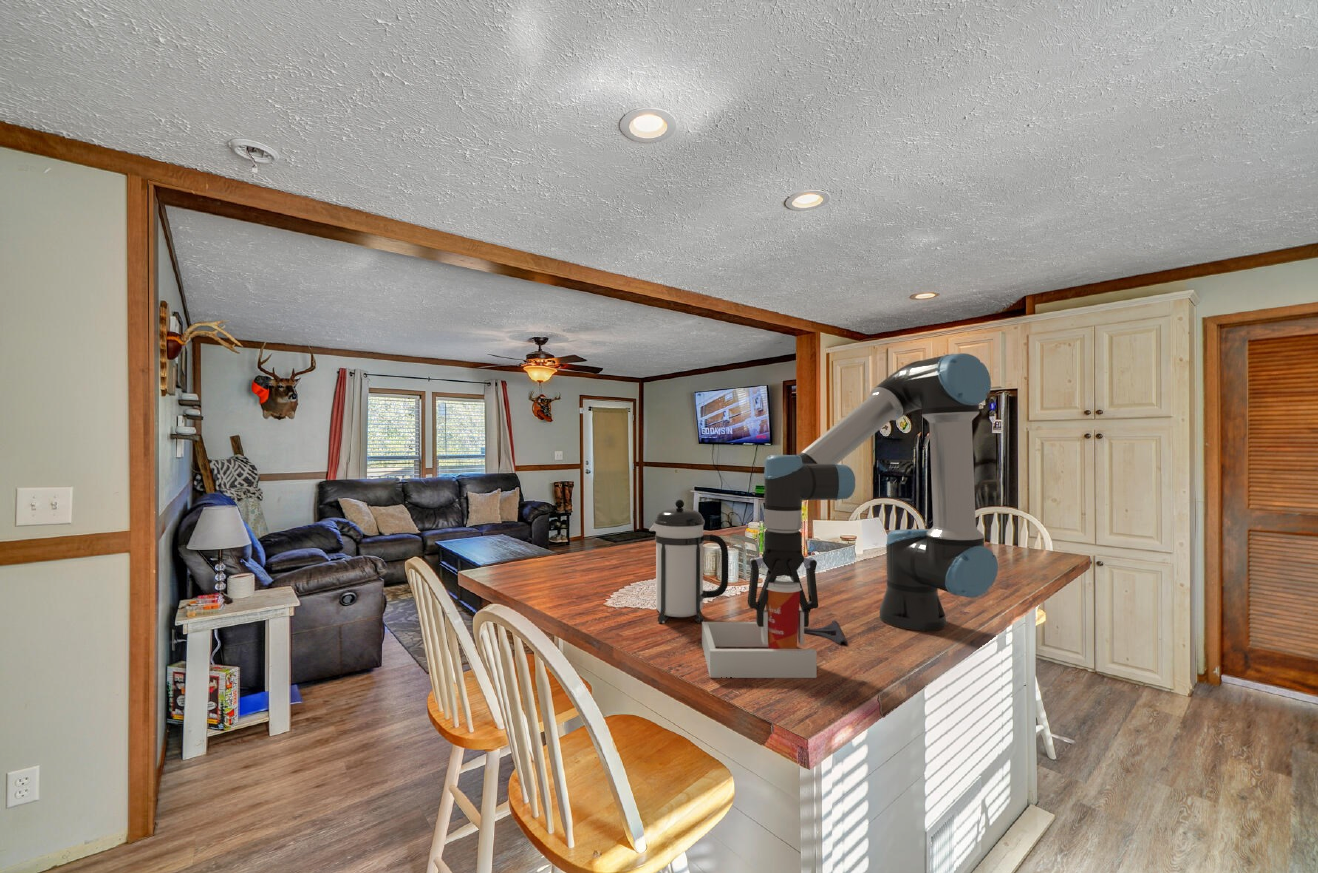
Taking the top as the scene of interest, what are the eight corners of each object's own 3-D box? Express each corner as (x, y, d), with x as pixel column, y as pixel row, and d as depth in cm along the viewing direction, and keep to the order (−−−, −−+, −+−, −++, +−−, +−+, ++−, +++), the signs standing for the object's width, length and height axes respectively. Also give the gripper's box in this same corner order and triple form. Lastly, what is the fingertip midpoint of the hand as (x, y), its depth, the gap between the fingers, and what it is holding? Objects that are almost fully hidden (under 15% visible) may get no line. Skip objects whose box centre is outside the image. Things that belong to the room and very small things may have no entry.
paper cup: (759, 643, 117) (759, 576, 117) (794, 642, 118) (794, 576, 118) (769, 657, 109) (769, 586, 110) (807, 656, 110) (807, 585, 110)
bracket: (776, 623, 139) (776, 612, 139) (837, 627, 136) (837, 615, 136) (778, 644, 125) (778, 631, 125) (847, 648, 122) (847, 636, 122)
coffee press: (682, 631, 131) (682, 504, 131) (638, 616, 142) (638, 499, 143) (730, 616, 142) (730, 499, 143) (685, 603, 154) (686, 495, 155)
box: (793, 644, 122) (793, 622, 122) (816, 677, 105) (816, 651, 105) (701, 644, 122) (702, 621, 122) (710, 677, 105) (710, 651, 105)
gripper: (824, 527, 118) (824, 636, 117) (732, 526, 118) (732, 636, 117) (836, 533, 110) (836, 649, 110) (738, 532, 110) (737, 649, 110)
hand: (782, 642), depth 114 cm, fingers closed on paper cup, 7 cm apart
